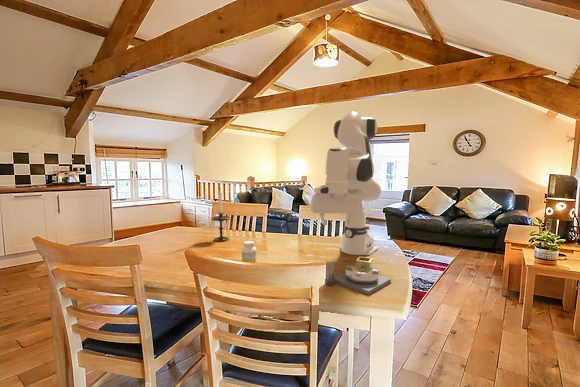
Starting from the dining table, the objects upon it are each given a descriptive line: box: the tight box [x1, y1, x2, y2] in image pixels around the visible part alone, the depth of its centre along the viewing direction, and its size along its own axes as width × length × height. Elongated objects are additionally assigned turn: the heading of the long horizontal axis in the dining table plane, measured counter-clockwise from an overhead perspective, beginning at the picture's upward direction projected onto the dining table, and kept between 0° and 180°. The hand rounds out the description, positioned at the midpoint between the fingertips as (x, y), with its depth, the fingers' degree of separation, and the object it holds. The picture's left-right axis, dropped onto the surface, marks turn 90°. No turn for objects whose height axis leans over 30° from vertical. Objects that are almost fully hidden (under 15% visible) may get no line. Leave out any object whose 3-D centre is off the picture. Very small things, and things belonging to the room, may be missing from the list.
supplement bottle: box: [241, 240, 258, 264], centre depth 138 cm, size 7×7×13 cm
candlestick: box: [211, 185, 231, 243], centre depth 188 cm, size 11×11×35 cm
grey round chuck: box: [345, 255, 380, 284], centre depth 124 cm, size 14×13×6 cm
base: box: [334, 272, 392, 296], centre depth 124 cm, size 17×17×4 cm
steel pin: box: [325, 261, 335, 287], centre depth 121 cm, size 3×3×9 cm
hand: (336, 224), depth 118 cm, fingers open, 8 cm apart
